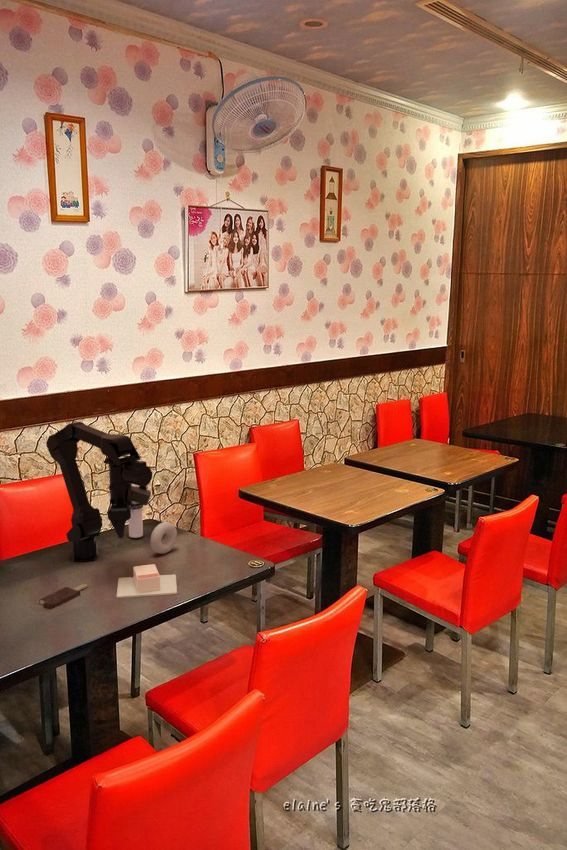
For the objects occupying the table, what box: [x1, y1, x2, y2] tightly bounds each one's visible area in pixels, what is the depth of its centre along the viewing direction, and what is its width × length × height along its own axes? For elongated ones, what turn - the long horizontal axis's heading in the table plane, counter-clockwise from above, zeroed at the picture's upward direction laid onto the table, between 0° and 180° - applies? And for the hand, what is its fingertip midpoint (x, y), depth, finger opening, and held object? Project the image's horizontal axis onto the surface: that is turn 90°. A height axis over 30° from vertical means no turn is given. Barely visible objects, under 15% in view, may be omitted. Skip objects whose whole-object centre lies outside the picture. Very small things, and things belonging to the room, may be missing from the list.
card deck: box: [132, 563, 161, 593], centre depth 196 cm, size 9×6×4 cm, turn 19°
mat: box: [116, 574, 178, 599], centre depth 197 cm, size 16×12×1 cm
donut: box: [149, 521, 178, 555], centre depth 220 cm, size 10×4×10 cm, turn 143°
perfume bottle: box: [127, 484, 144, 539], centre depth 231 cm, size 6×6×20 cm
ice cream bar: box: [38, 583, 88, 610], centre depth 190 cm, size 5×2×15 cm
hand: (121, 532), depth 205 cm, fingers open, 9 cm apart
